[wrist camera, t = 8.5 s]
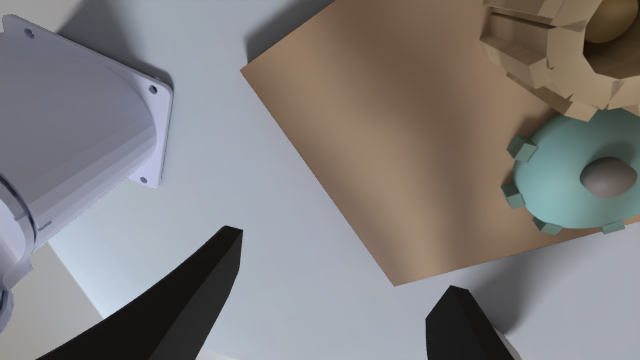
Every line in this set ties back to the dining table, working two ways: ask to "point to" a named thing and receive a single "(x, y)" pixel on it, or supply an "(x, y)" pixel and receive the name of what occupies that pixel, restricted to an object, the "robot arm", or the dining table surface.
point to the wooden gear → (564, 55)
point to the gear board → (445, 135)
